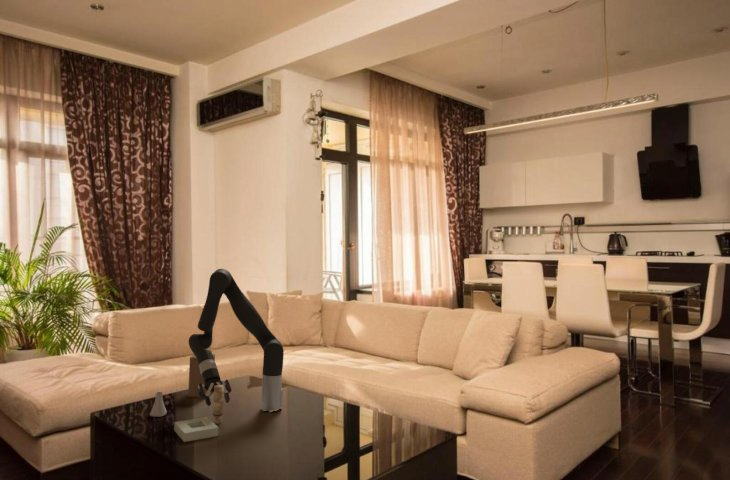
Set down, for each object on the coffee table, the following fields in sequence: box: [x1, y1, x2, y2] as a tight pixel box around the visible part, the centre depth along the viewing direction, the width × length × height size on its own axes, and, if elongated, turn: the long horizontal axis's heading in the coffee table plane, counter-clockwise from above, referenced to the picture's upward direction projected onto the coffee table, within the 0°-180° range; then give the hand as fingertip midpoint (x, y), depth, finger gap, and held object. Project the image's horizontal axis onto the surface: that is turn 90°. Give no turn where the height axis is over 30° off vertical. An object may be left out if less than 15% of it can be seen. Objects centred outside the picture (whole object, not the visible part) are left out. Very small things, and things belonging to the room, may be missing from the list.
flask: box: [149, 391, 168, 418], centre depth 247 cm, size 7×7×10 cm
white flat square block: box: [173, 416, 220, 443], centre depth 227 cm, size 14×14×4 cm
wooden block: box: [187, 353, 216, 398], centre depth 278 cm, size 10×10×20 cm
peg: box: [212, 384, 225, 425], centre depth 241 cm, size 4×4×16 cm
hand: (219, 403), depth 240 cm, fingers open, 8 cm apart
